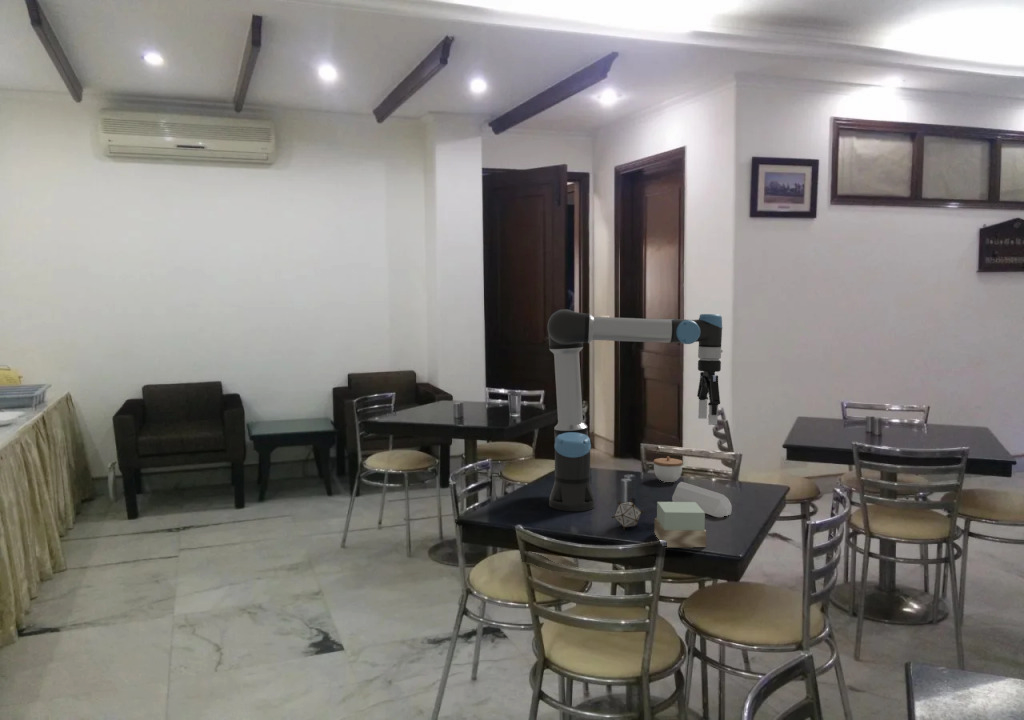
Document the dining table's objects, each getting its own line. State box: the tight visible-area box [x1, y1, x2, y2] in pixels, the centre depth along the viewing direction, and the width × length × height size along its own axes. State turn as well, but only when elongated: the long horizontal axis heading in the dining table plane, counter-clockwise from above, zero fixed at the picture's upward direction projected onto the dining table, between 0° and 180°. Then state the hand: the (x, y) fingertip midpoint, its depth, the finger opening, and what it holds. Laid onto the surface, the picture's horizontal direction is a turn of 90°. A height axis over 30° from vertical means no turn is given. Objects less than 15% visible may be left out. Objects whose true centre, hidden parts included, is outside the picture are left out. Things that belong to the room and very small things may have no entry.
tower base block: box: [654, 517, 707, 548], centre depth 211 cm, size 12×12×5 cm
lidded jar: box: [653, 456, 683, 483], centre depth 284 cm, size 11×11×9 cm
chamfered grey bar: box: [671, 481, 733, 518], centre depth 245 cm, size 7×7×24 cm
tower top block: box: [656, 501, 706, 531], centre depth 211 cm, size 11×11×5 cm
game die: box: [611, 499, 645, 530], centre depth 223 cm, size 9×8×10 cm
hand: (707, 421), depth 256 cm, fingers open, 13 cm apart
